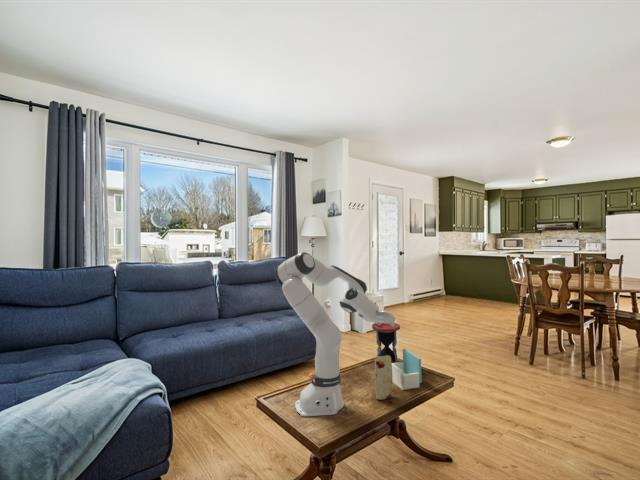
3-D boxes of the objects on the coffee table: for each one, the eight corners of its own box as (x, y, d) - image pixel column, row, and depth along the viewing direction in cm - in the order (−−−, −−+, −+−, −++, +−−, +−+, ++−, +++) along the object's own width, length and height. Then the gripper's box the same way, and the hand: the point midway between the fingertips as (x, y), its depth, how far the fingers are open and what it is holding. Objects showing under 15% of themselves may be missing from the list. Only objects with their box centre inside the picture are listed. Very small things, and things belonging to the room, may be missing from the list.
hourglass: (387, 360, 205) (385, 320, 205) (407, 368, 191) (405, 325, 192) (367, 367, 196) (366, 324, 196) (387, 375, 182) (386, 330, 182)
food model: (380, 403, 152) (379, 359, 152) (371, 397, 157) (370, 355, 158) (396, 397, 157) (395, 355, 157) (387, 392, 162) (385, 351, 163)
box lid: (419, 382, 167) (418, 359, 167) (403, 370, 183) (402, 349, 183) (423, 382, 168) (422, 358, 168) (406, 370, 184) (405, 348, 184)
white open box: (402, 389, 164) (401, 371, 165) (386, 376, 181) (386, 360, 181) (419, 387, 167) (418, 369, 167) (402, 374, 183) (402, 358, 183)
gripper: (387, 306, 164) (403, 321, 170) (360, 304, 181) (375, 318, 186) (382, 317, 162) (399, 332, 167) (355, 314, 178) (371, 328, 184)
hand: (386, 324), depth 177 cm, fingers open, 8 cm apart
